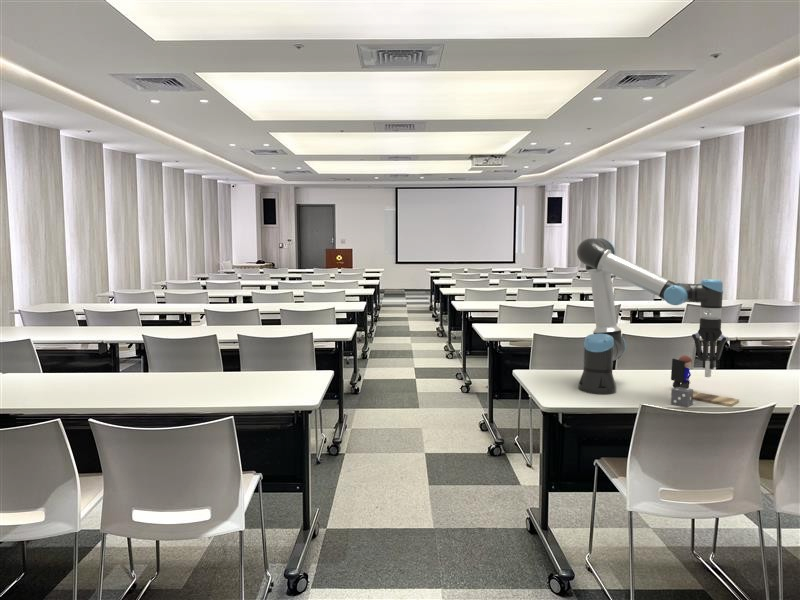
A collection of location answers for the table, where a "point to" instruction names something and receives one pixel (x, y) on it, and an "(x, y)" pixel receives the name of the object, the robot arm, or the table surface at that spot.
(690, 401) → the die
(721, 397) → the track
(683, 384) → the character figurine
